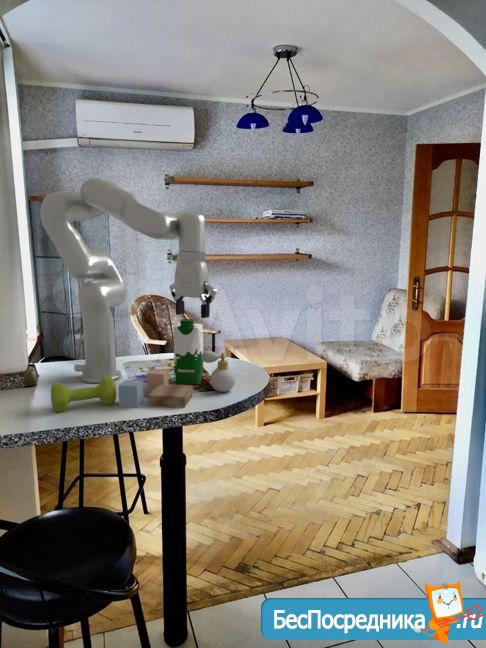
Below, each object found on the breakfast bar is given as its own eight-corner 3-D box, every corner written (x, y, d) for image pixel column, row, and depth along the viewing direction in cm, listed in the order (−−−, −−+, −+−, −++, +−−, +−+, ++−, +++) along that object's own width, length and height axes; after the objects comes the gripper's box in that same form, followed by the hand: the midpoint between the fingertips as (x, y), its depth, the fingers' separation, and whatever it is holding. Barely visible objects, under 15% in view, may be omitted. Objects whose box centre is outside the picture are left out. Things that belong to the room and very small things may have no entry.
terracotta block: (147, 393, 138) (146, 373, 137) (152, 388, 143) (151, 369, 142) (164, 394, 138) (163, 374, 137) (168, 388, 143) (168, 369, 142)
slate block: (119, 407, 127) (118, 385, 126) (125, 400, 132) (125, 380, 131) (137, 407, 127) (136, 386, 126) (143, 401, 132) (142, 380, 130)
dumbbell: (53, 416, 121) (51, 389, 119) (50, 406, 128) (48, 380, 126) (118, 406, 128) (117, 381, 126) (112, 398, 135) (111, 373, 133)
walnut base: (148, 405, 128) (148, 395, 127) (158, 394, 138) (158, 384, 137) (184, 407, 127) (184, 396, 126) (192, 395, 137) (192, 385, 136)
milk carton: (172, 384, 147) (170, 321, 143) (179, 376, 156) (177, 316, 152) (200, 385, 146) (199, 321, 142) (205, 377, 155) (204, 316, 151)
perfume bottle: (238, 393, 139) (238, 353, 137) (206, 396, 136) (206, 355, 134) (231, 385, 146) (231, 347, 144) (200, 388, 143) (199, 350, 141)
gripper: (161, 257, 139) (162, 314, 142) (207, 259, 129) (207, 320, 132) (178, 256, 145) (179, 311, 148) (223, 258, 136) (223, 317, 139)
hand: (192, 315), depth 140 cm, fingers open, 9 cm apart
